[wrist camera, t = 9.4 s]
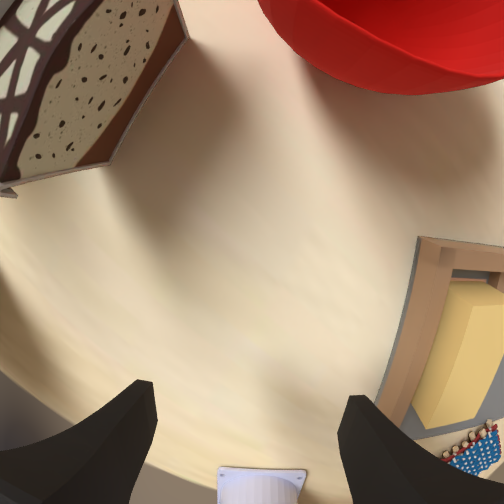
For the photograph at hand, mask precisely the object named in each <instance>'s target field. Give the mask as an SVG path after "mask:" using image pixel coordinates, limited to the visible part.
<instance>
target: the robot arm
mask: <svg viewBox="0 0 504 504" xmlns="http://www.w3.org/2000/svg"><path fill="white" fill-rule="evenodd" d="M157 422H158V419H157V412H156V405H155V397H154V389H153V382H149V381H144V380H138V379H137V380H136V381H134V382H133V383H132V384H131V385H129V386H128V387H127V388H126V389H125V390H123V391H122V392H121V393H120V394H118V395H117V396H116V397H115V398H113V399H112V400H111V401H110V402H108V403H107V404H106V405H104V406H103V407H102V408H100V409H99V410H98V411H96V412H95V413H93V414H92V415H90V416H89V417H87V418H86V419H84V420H83V421H81V422H80V423H78V424H76V425H75V426H73V427H71V428H69V429H67V430H65V431H63V432H61V433H59V434H57V435H55V436H52V437H49V438H47V439H45V440H42V441H39V442H37V443H33V444H30V445H27V446H23V447H19V448H16V449H11V450H5V451H0V504H129V500H130V496H131V493H132V490H133V487H134V485H135V482H136V480H137V477H138V475H139V473H140V470H141V468H142V465H143V463H144V461H145V458H146V456H147V453H148V451H149V449H150V446H151V444H152V441H153V437H154V433H155V430H156V426H157ZM337 434H338V442H339V449H340V456H341V459H342V463H343V467H344V470H345V474H346V477H347V481H348V485H349V488H350V492H351V495H352V499H353V504H504V484H503V483H498V482H495V481H491V480H487V479H483V478H480V477H477V476H475V475H472V474H469V473H467V472H464V471H462V470H460V469H458V468H456V467H454V466H452V465H450V464H448V463H446V462H444V461H442V460H441V459H439V458H437V457H436V456H434V455H433V454H431V453H430V452H428V451H426V450H425V449H424V448H422V447H421V446H419V445H418V444H417V443H416V442H414V441H413V440H412V439H411V438H409V437H408V436H407V435H406V434H405V433H404V432H402V431H401V430H400V429H399V428H398V427H397V426H396V425H395V424H394V423H393V422H392V421H390V420H389V419H388V418H387V417H386V416H385V415H384V414H383V413H382V412H381V411H380V410H379V409H378V408H377V407H376V406H375V405H374V404H373V403H372V402H371V401H370V400H369V399H368V398H367V397H366V396H365V395H351V396H349V399H348V402H347V405H346V408H345V412H344V415H343V418H342V421H341V424H340V426H339V429H338V432H337ZM305 478H306V471H305V470H265V469H245V468H232V467H219V468H218V472H217V484H218V504H298V503H297V499H298V497H299V494H300V491H301V489H302V486H303V483H304V481H305Z"/></svg>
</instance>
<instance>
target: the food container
mask: <svg viewBox="0 0 504 504" xmlns="http://www.w3.org/2000/svg"><path fill="white" fill-rule="evenodd" d="M189 37H190V36H189V33H188V30H187V27H186V24H185V21H184V17H183V14H182V11H181V8H180V5H179V2H178V0H0V197H7V198H16V199H17V197H18V195H17V194H16V193H15V192H14V191H13V190H12V189H11V188H10V187H13V186H17V185H21V184H24V183H28V182H32V181H36V180H41V179H45V178H49V177H53V176H58V175H62V174H67V173H72V172H77V171H81V170H87V169H92V168H97V167H102V166H108V165H110V164H111V162H112V161H113V159H114V157H115V155H116V153H117V151H118V149H119V147H120V145H121V143H122V141H123V140H124V138H125V136H126V134H127V132H128V131H129V129H130V127H131V125H132V123H133V122H134V120H135V118H136V117H137V115H138V113H139V111H140V110H141V108H142V106H143V105H144V103H145V102H146V100H147V98H148V97H149V95H150V93H151V92H152V90H153V89H154V87H155V86H156V84H157V83H158V81H159V79H160V78H161V76H162V75H163V73H164V72H165V71H166V69H167V68H168V66H169V65H170V63H171V62H172V60H173V59H174V57H175V56H176V55H177V53H178V52H179V51H180V49H181V48H182V46H183V45H184V44H185V42H186V41H187V40H188V38H189Z"/></svg>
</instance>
